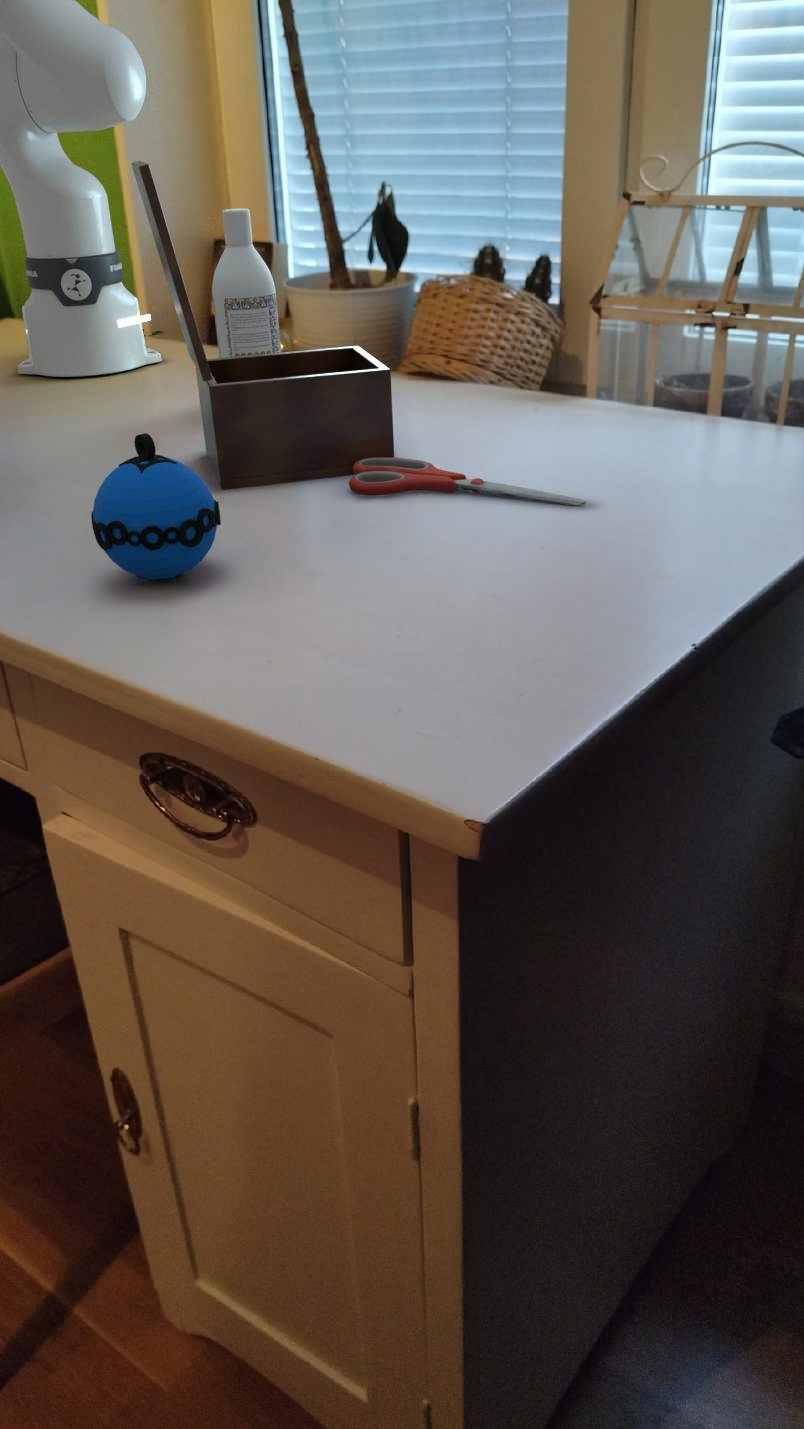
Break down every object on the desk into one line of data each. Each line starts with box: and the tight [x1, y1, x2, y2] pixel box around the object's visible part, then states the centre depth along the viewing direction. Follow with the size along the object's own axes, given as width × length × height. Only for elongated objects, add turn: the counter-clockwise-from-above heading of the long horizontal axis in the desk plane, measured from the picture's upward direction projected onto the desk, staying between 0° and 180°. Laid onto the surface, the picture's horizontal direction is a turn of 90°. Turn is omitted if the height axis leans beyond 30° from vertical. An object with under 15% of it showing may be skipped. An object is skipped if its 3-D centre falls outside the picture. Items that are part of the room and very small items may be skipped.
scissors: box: [348, 457, 587, 506], centre depth 93 cm, size 8×21×2 cm, turn 74°
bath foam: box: [211, 208, 282, 358], centre depth 122 cm, size 7×7×20 cm
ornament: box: [90, 432, 222, 581], centre depth 75 cm, size 9×9×10 cm
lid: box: [130, 160, 212, 382], centre depth 92 cm, size 16×13×1 cm
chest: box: [195, 345, 395, 491], centre depth 100 cm, size 16×13×9 cm
